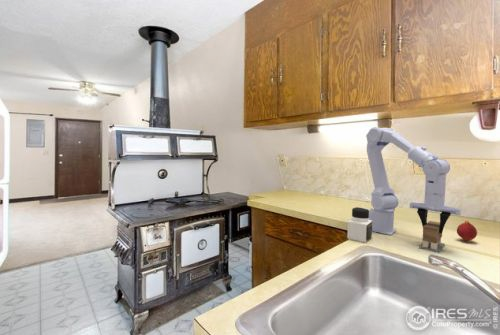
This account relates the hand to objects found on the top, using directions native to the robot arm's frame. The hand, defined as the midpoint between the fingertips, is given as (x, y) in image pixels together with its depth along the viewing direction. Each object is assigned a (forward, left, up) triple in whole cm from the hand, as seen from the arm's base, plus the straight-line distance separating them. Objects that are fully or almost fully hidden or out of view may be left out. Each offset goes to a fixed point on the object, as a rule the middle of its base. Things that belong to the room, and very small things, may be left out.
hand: (432, 231), depth 90 cm
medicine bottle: (-22, -10, -6) cm, 25 cm away
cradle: (0, 0, -6) cm, 6 cm away
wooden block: (0, 0, -3) cm, 3 cm away
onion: (+8, +16, -6) cm, 19 cm away
